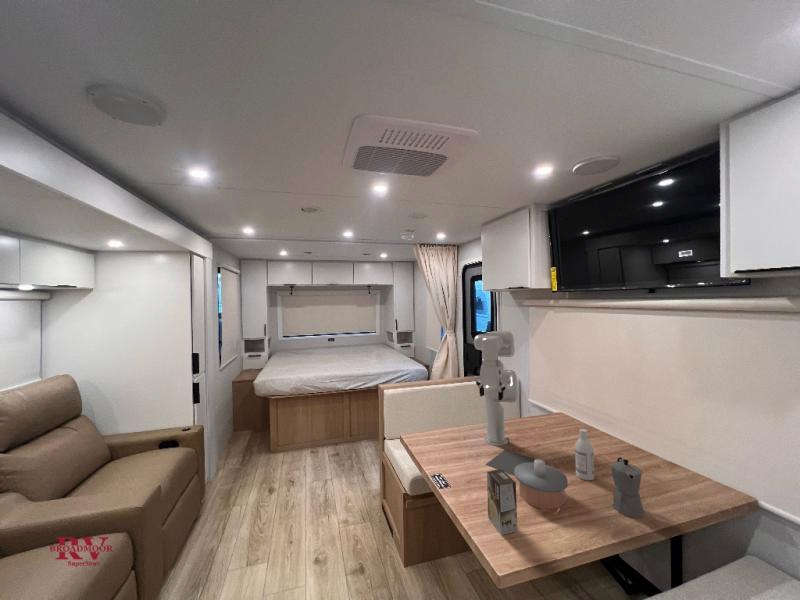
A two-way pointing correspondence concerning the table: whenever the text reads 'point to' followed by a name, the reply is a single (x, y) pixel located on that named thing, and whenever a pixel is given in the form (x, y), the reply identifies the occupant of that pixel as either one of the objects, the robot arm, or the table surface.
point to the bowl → (541, 497)
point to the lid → (541, 476)
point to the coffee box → (502, 501)
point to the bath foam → (584, 457)
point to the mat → (509, 461)
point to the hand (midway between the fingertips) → (491, 397)
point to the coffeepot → (627, 488)
